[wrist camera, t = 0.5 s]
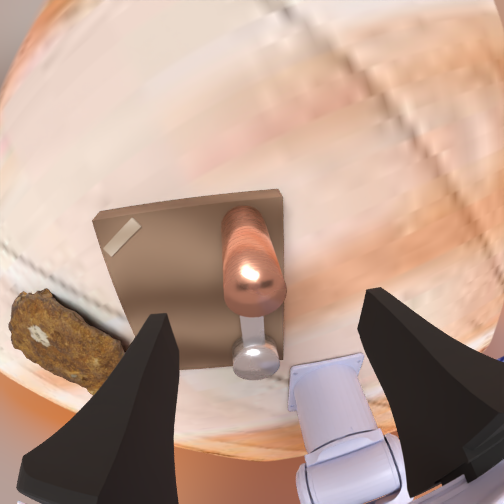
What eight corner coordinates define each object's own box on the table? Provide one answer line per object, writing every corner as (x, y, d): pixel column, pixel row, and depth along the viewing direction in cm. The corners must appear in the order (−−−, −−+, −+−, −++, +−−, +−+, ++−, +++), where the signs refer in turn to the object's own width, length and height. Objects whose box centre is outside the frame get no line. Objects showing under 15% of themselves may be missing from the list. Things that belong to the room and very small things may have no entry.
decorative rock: (171, 338, 25) (30, 257, 20) (167, 371, 22) (7, 282, 17) (129, 394, 29) (17, 333, 24) (124, 423, 25) (2, 358, 20)
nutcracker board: (280, 347, 26) (283, 360, 25) (153, 358, 26) (151, 371, 24) (278, 188, 19) (283, 197, 17) (99, 211, 18) (91, 221, 17)
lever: (275, 358, 24) (289, 423, 19) (234, 363, 24) (240, 429, 19) (272, 203, 17) (299, 263, 12) (210, 209, 17) (207, 273, 11)
